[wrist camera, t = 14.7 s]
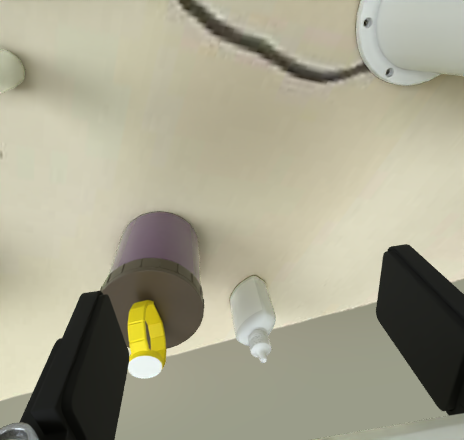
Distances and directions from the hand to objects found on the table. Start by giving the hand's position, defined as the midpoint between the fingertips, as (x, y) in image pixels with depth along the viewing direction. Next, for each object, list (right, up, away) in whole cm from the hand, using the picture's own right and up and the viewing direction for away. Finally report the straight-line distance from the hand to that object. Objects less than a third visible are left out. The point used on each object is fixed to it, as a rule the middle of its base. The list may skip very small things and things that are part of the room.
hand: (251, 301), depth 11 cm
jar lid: (-8, -6, +21) cm, 23 cm away
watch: (-8, -6, +21) cm, 23 cm away
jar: (-10, 0, +31) cm, 33 cm away
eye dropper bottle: (+1, -7, +36) cm, 37 cm away
